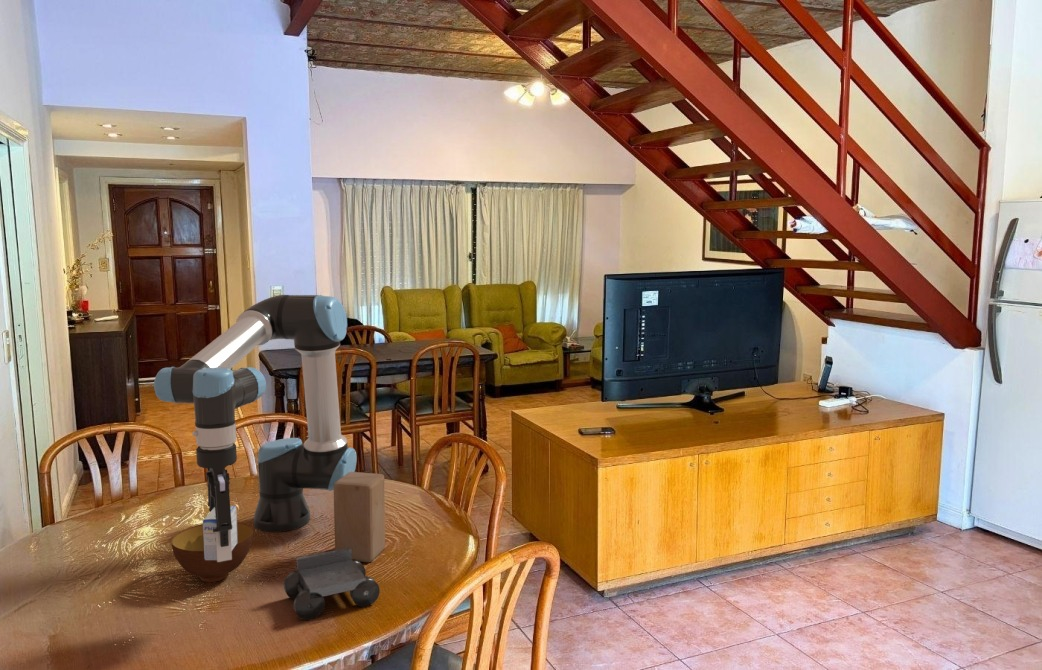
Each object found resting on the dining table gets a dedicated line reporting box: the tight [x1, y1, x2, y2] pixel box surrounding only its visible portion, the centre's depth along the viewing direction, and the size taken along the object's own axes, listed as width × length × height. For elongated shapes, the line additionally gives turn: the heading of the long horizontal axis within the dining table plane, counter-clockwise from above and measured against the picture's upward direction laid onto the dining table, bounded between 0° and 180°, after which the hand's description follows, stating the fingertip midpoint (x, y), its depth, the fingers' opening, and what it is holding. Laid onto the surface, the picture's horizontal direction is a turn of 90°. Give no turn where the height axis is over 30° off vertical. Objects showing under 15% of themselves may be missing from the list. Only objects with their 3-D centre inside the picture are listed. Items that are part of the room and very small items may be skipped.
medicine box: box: [202, 505, 238, 560], centre depth 153 cm, size 8×4×9 cm, turn 5°
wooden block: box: [333, 471, 386, 563], centre depth 188 cm, size 10×10×20 cm
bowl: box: [171, 521, 254, 583], centre depth 175 cm, size 18×18×10 cm
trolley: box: [283, 547, 381, 621], centre depth 164 cm, size 12×18×9 cm, turn 119°
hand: (221, 551), depth 154 cm, fingers closed on medicine box, 9 cm apart
